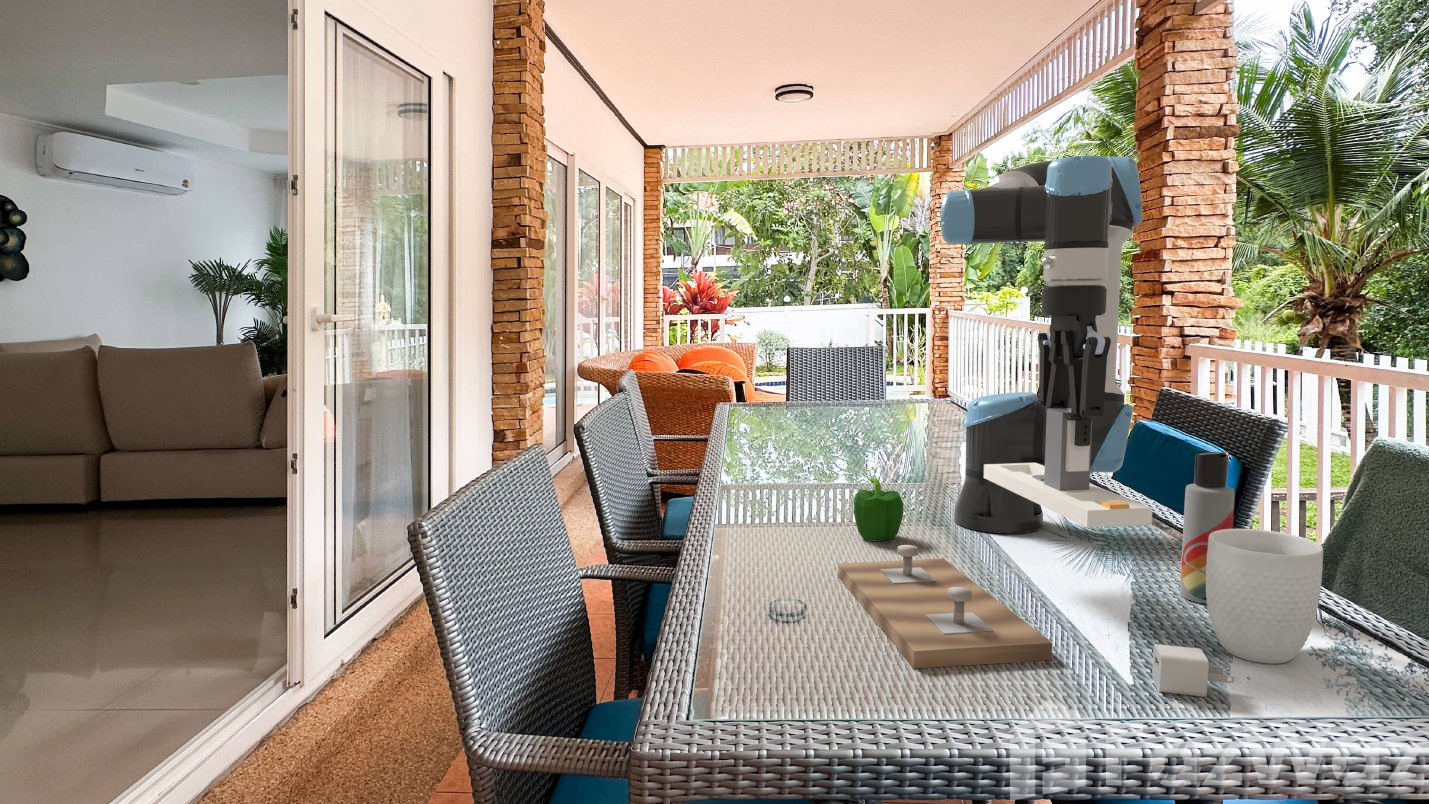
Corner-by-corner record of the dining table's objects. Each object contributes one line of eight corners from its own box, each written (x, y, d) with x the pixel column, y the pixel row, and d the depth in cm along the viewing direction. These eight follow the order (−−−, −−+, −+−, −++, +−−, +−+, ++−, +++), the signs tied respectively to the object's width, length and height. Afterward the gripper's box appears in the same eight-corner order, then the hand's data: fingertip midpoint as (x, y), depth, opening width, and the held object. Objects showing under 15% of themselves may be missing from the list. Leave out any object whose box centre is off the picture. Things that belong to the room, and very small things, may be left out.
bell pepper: (903, 546, 143) (904, 486, 142) (852, 543, 144) (852, 484, 143) (902, 532, 151) (903, 475, 150) (854, 530, 153) (855, 474, 151)
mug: (1260, 622, 108) (1267, 519, 107) (1357, 654, 99) (1367, 542, 97) (1180, 644, 102) (1186, 535, 100) (1275, 681, 92) (1284, 560, 90)
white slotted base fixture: (983, 477, 128) (985, 396, 127) (1035, 475, 129) (1037, 395, 128) (1087, 527, 101) (1091, 424, 99) (1151, 524, 102) (1156, 422, 100)
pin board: (837, 576, 128) (838, 536, 127) (943, 571, 129) (944, 532, 129) (913, 668, 96) (914, 615, 95) (1051, 659, 98) (1053, 608, 97)
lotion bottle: (1210, 608, 113) (1219, 456, 111) (1170, 595, 118) (1178, 449, 116) (1237, 600, 116) (1247, 452, 114) (1196, 588, 121) (1205, 446, 119)
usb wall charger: (1151, 677, 93) (1154, 641, 93) (1224, 685, 91) (1227, 649, 91) (1159, 694, 89) (1161, 656, 89) (1235, 703, 87) (1238, 664, 87)
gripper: (1014, 285, 118) (1009, 456, 121) (1082, 283, 101) (1074, 482, 104) (1067, 284, 119) (1060, 454, 121) (1143, 282, 102) (1133, 479, 105)
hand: (1067, 466), depth 113 cm, fingers closed on white slotted base fixture, 4 cm apart
